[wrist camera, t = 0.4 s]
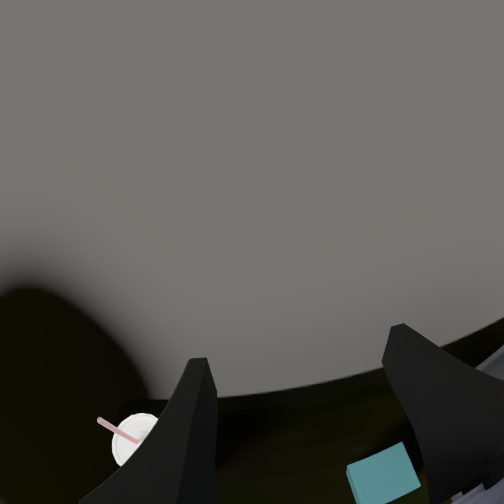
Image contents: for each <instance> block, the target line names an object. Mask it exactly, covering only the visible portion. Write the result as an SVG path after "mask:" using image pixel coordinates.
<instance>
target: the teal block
mask: <svg viewBox="0 0 504 504" xmlns="http://www.w3.org/2000/svg"><path fill="white" fill-rule="evenodd" d="M347 476H348V479H349V482H350V485H351V488H352V491H353V494H354V497H355V500H356V503H357V504H385V503H388V502H390V501H392V500H394V499H396V498H398V497H400V496H403V495H405V494H407V493H409V492H410V491H412V490H414V489H416V488H418V487H420V486H421V485H420V483H419V480H418V478H417V476H416V473H415V471H414V468H413V466H412V464H411V461H410V459H409V457H408V454H407V452H406V450H405V447H404V445H403V443H402V442H400V443H398V444H396V445H394V446H392V447H390V448H388V449H386V450H384V451H382V452H379V453H377V454H375V455H373V456H370V457H368V458H365V459H363V460H361V461H358V462H356V463H353V464H350V465H348V466H347Z"/></svg>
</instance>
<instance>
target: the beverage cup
mask: <svg viewBox="0 0 504 504" xmlns="http://www.w3.org/2000/svg"><path fill="white" fill-rule="evenodd" d="M157 420H158V419H157V418H156V417H154V416H153V415H150V414H144V413H140V414H136V415H132V416H130V417H128V418H127V419H125V420H124V421H122V422H121V424H120V425H119V427H118V428H116V427H115V426H113V425H112V424H110V423H108V422H107V421H105V420H104V419H102V418H101V417H99V418H98V419H97V422H98V423H100V424H101V425H103V426H105V427H106V428H108V429H109V430H111V431H113V432H115V434H114V437H113V440H112V451H113V455H114V457H115V459H116V461H117V463H118V464H119V465H120V466H122V465H123V464H124V463H125V462H126V461H127V460H128V459H129V457H130V456H131V455H132V454H133V453H134V452H135V450H136V449H137V448H138V447H139V446H140V444H141V443H142V442H143V440H144V439H145V438H146V436H147V435H148V434H149V432H150V431H151V429H152V428H153V426H154V425H155V423H156V422H157Z"/></svg>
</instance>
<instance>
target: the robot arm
mask: <svg viewBox="0 0 504 504" xmlns="http://www.w3.org/2000/svg"><path fill="white" fill-rule="evenodd" d="M382 364H383V367H384V369H385V372H386V375H387V377H388V380H389V382H390V384H391V386H392V388H393V390H394V392H395V394H396V396H397V397H398V399H399V401H400V403H401V405H402V407H403V409H404V411H405V413H406V414H407V416H408V418H409V420H410V422H411V425H412V427H413V429H414V432H415V435H416V438H417V441H418V444H419V447H420V451H421V455H422V458H423V462H424V467H425V472H426V477H427V483H428V491H429V501H430V504H441V503H442V502H444V501H446V500H448V499H449V498H451V497H453V496H454V495H456V494H458V493H459V492H462V495H463V496H462V497H460V498H459V499H457V500H456V501H454V502H453V503H451V504H504V380H501V379H498V378H496V377H493V376H490V375H488V374H486V373H484V372H481V371H479V370H477V369H475V368H473V367H471V366H469V365H467V364H466V363H464V362H462V361H460V360H459V359H457V358H455V357H454V356H452V355H451V354H449V353H447V352H446V351H444V350H443V349H441V348H440V347H438V346H437V345H435V344H434V343H432V342H431V341H429V340H428V339H426V338H425V337H424V336H422V335H421V334H419V333H418V332H416V331H415V330H413V329H411V328H410V327H409V326H407V325H405V324H404V323H403V324H399V325H396V326H392V327H391V329H390V334H389V337H388V341H387V344H386V348H385V352H384V355H383V359H382ZM217 422H218V404H217V390H216V387H215V383H214V381H213V377H212V374H211V371H210V367H209V364H208V361H207V358H193V359H190V360H189V361H188V363H187V365H186V367H185V370H184V372H183V374H182V376H181V378H180V381H179V383H178V385H177V387H176V389H175V391H174V393H173V394H172V396H171V398H170V400H169V402H168V404H167V405H166V407H165V409H164V410H163V412H162V414H161V415H160V417H159V419H158V420H157V422H156V423H155V425H154V426H153V428H152V429H151V431H150V432H149V434H148V435H147V436H146V438H145V439H144V440H143V442H142V443H141V444H140V446H139V447H138V448H137V449H136V450H135V452H134V453H133V454H132V455H131V456H130V457H129V459H128V460H127V461H126V462H125V463H124V464H123V465H122V466H121V467H120V468H119V469H118V470H117V471H116V472H115V473H114V474H113V475H112V476H111V477H109V478H108V479H107V480H106V481H105V482H104V483H103V484H101V485H100V486H99V487H97V488H96V489H95V490H94V491H92V492H91V493H89V494H88V495H87V496H85V497H84V498H83V499H81V500H80V502H79V504H218V503H217V492H216V479H215V453H216V437H217Z"/></svg>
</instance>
